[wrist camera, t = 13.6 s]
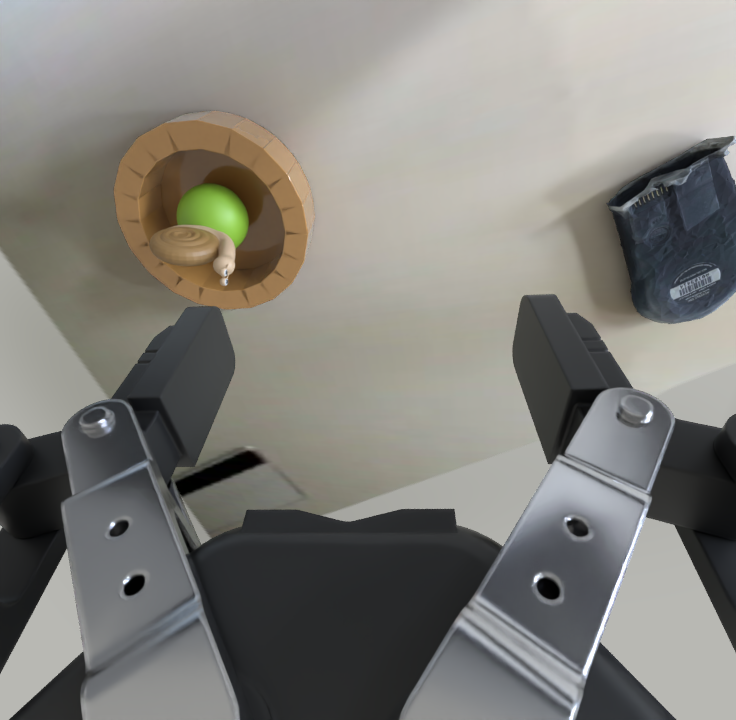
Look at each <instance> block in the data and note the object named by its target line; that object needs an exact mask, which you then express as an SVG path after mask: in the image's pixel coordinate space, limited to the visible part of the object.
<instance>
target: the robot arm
mask: <svg viewBox="0 0 736 720" xmlns="http://www.w3.org/2000/svg"><path fill="white" fill-rule="evenodd" d="M513 363H514V367H515V370H516V373H517V376H518V379H519V382H520V385H521V388H522V390H523V393H524V396H525V399H526V402H527V405H528V408H529V410H530V413H531V416H532V419H533V422H534V425H535V428H536V431H537V433H538V436H539V439H540V442H541V444H542V448H543V451H544V453H545V456H546V459H547V462H548V464H552V465H551V467H550V469H549V470H548V472H547V473H546V475H545V477H544V479H543V480H542V482H541V483H540V485H539V487H538V489H537V490H536V492H535V494H534V495H533V497H532V499H531V500H530V502H529V504H528V505H527V507H526V509H525V510H524V512H523V514H522V516H521V517H520V519H519V520H518V522H517V524H516V526H515V527H514V529H513V531H512V532H511V534H510V536H509V538H508V539H507V541H506V542H505V544H504V546H501V545H500V544H498V543H497V542H495V541H494V540H492V539H490V538H488V537H486V536H484V535H482V534H480V533H478V532H476V531H473V530H470V529H468V528H465V527H461V526H457V525H456V519H455V511H454V509H401V510H397V511H393V512H389V513H385V514H380V515H376V516H372V517H369V518H364V519H361V520H356V521H351V522H345V521H340V520H335V519H332V518H328V517H324V516H320V515H316V514H312V513H308V512H304V511H300V510H247V511H246V515H245V518H244V522H243V525H242V527H238V528H235V529H232V530H230V531H227V532H224V533H222V534H220V535H218V536H216V537H214V538H212V539H210V540H209V541H207V542H205V543H204V544H202V545H201V543H200V541H199V539H198V536H197V534H196V532H195V530H194V527H193V525H192V522H191V520H190V518H189V515H188V513H187V511H186V508H185V506H184V503H183V501H182V499H181V496H180V494H179V492H178V489H177V487H176V485H175V482H174V481H173V479H172V477H171V476H172V474H173V472H174V470H175V468H176V467H195V465H196V462H197V460H198V457H199V455H200V453H201V450H202V448H203V445H204V443H205V441H206V438H207V436H208V434H209V431H210V429H211V426H212V424H213V422H214V419H215V417H216V414H217V412H218V410H219V407H220V405H221V403H222V400H223V398H224V395H225V393H226V391H227V388H228V386H229V384H230V381H231V379H232V376H233V374H234V370H235V354H234V350H233V347H232V344H231V341H230V338H229V335H228V332H227V329H226V325H225V322H224V319H223V316H222V313H221V311H220V309H219V308H218V307H217V306H202V307H187V308H186V309H185V310H184V312H183V313H182V315H181V316H180V318H179V319H178V321H177V322H176V324H175V325H174V326H169V327H168V328H166V329H165V330H164V331H162V332H161V333H160V334H158V335H157V336H156V337H154V339H153V340H152V341H151V343H150V344H149V346H148V347H147V349H146V350H145V353H143V354H142V356H141V357H140V358H139V360H138V364H135V366H134V367H133V368H132V370H131V371H130V373H129V374H128V376H127V377H126V378H125V380H124V381H123V383H122V384H121V385H120V387H119V388H118V390H117V391H116V393H115V394H114V395H113V397H112V398H111V399H108V400H103V401H99V402H96V403H93V404H91V405H89V406H87V407H85V408H83V409H81V410H80V411H78V412H77V413H76V414H74V415H73V416H72V417H71V418H70V419H69V420H68V421H67V423H66V424H65V425H64V427H63V429H62V431H59V432H55V433H51V434H47V435H43V436H39V437H35V438H31V439H27V438H26V437H25V436H24V434H23V433H22V432H21V431H20V429H18V428H17V427H16V426H13V425H8V424H2V425H0V525H1V526H2V527H3V528H2V529H1V531H0V673H1V671H2V669H3V667H4V665H5V664H6V662H7V660H8V658H9V656H10V654H11V652H12V651H13V649H14V647H15V645H16V643H17V641H18V639H19V637H20V636H21V634H22V632H23V630H24V628H25V626H26V624H27V622H28V620H29V619H30V617H31V615H32V613H33V611H34V609H35V607H36V605H37V604H38V602H39V600H40V598H41V596H42V594H43V592H44V590H45V588H46V586H47V585H48V583H49V581H50V579H51V577H52V575H53V573H54V572H55V570H56V568H57V566H58V564H59V562H60V560H61V558H62V557H63V555H64V553H65V551H66V549H67V550H68V556H69V563H70V569H71V575H72V581H73V587H74V594H75V600H76V607H77V613H78V619H79V626H80V632H81V638H82V645H83V652H82V653H81V654H80V655H79V656H78V657H77V658H75V659H74V660H73V661H72V662H71V663H70V664H69V665H68V666H67V667H66V668H65V669H64V670H62V671H61V672H60V673H59V674H58V675H57V676H56V677H55V678H54V679H53V680H52V681H51V682H49V683H48V684H47V685H46V686H45V687H44V688H43V689H42V690H41V691H40V692H39V693H38V694H37V695H35V696H34V697H33V698H32V699H31V700H30V701H29V702H28V703H27V704H26V705H24V706H23V707H22V708H21V709H20V710H19V711H18V712H17V713H16V714H15V715H14V716H13V717H11V718H10V719H9V720H676V719H675V718H674V717H673V716H672V715H671V714H670V713H669V712H668V711H667V710H666V709H665V708H664V707H663V706H662V705H661V704H660V703H659V702H658V701H657V700H656V699H655V698H654V697H653V696H652V695H651V693H649V691H648V690H647V689H646V688H645V687H644V686H643V685H642V684H641V683H640V682H639V681H638V680H637V679H636V678H635V677H634V676H633V675H632V674H631V673H630V672H629V671H628V670H627V669H626V668H625V667H624V666H623V665H622V664H621V663H620V662H619V661H618V660H617V659H616V658H615V657H614V656H613V655H612V654H611V653H610V652H609V651H608V650H607V649H606V648H605V647H604V646H603V645H602V644H601V643H600V640H601V638H602V635H603V632H604V629H605V627H606V624H607V621H608V619H609V616H610V613H611V610H612V608H613V605H614V602H615V599H616V597H617V594H618V591H619V589H620V586H621V583H622V580H623V578H624V575H625V572H626V569H627V566H628V564H629V561H630V558H631V556H632V553H633V550H634V547H635V545H636V542H637V539H638V537H639V534H640V531H641V529H642V526H643V523H644V520H645V518H646V517H647V518H651V519H655V520H659V521H662V522H666V523H670V524H673V525H675V527H676V529H677V531H678V533H679V535H680V537H681V539H682V542H683V544H684V546H685V548H686V550H687V552H688V554H689V556H690V558H691V560H692V562H693V565H694V567H695V569H696V571H697V573H698V575H699V577H700V579H701V581H702V583H703V585H704V587H705V589H706V591H707V594H708V596H709V597H710V600H711V602H712V604H713V606H714V608H715V610H716V612H717V614H718V616H719V619H720V621H721V623H722V625H723V627H724V629H725V631H726V633H727V635H728V637H729V639H730V641H731V643H732V645H733V648H734V650H735V652H736V414H735V415H733V416H731V417H730V418H729V419H728V420H727V422H726V423H725V425H724V426H723V428H717V427H713V426H708V425H703V424H698V423H693V422H688V421H683V420H679V419H676V418H674V415H673V413H672V412H671V410H670V409H669V408H668V407H667V406H666V405H665V404H664V403H663V402H662V401H660V400H659V399H657V398H656V397H654V396H652V395H650V394H648V393H645V392H643V391H640V390H636V389H633V387H632V386H631V384H630V383H629V381H628V379H627V378H626V376H625V375H624V373H623V372H622V370H621V368H620V367H619V365H618V364H617V362H616V361H615V359H614V358H613V356H612V354H611V353H610V352H608V348H607V347H606V345H605V343H604V342H603V340H601V337H600V336H599V334H598V333H597V331H596V329H595V328H594V326H593V325H592V324H591V323H590V322H588V321H587V320H586V319H584V318H583V317H581V316H580V315H579V314H577V313H566V312H565V310H564V308H563V306H562V305H561V303H560V301H559V299H558V298H557V296H556V295H555V294H546V295H524V296H523V297H522V299H521V303H520V308H519V313H518V319H517V325H516V330H515V336H514V341H513Z"/></svg>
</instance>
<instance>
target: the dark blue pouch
mask: <svg viewBox="0 0 736 720" xmlns="http://www.w3.org/2000/svg"><path fill="white" fill-rule="evenodd" d="M735 137H736V136H730V137H721V138H713V139H706V140H704V141H703V142H701V143H699V144H697V145H696V146H694V147H692V148H691V149H689V150H687V151H686V152H684V153H683V154H681V155H679V156H678V157H676V158H674V159H672V160H670V161H668V162H666V163H665V164H663V165H661V166H659V167H658V168H656V169H654V170H652V171H650V172H648V173H646V174H644V175H642V176H641V177H639V178H637V179H635V180H633V181H632V182H630V183H629V184H627V185H626V186H624V187H623V188H622V189H621V190H619V192H618V193H617V194H616V195H615V196H614V197H613V198H612V199H611V200H610V202H609V203H606V204H607V205H608V207H609V209H610V211H612V212H613V217H614V220H615V223H616V227H617V231H618V233H619V237H620V242H621V244H620V245H621V247H622V249H623V253H624V257H625V260H626V264H627V268H628V271H629V275H630V279H631V282H632V283H631V296H632V301H633V304H634V306H635V308H636V309H637V312H638V313H640V315H641V316H643V317H645V318H647V319H650V320H652V321H655V322H659V323H668V324H675V323H681V322H686V321H691V320H695V319H700V318H703V317H705V316H707V315H708V314H710V313H712V312H714V311H715V310H717V309H718V308H719V307H720V306H721V305H722V304H724V303H725V302H726V301H727V300H729V298H730V297H731V296H732V295H733V294H734V293H735V292H736V185H735V180H733V179H732V177H731V174H730V171H729V169H728V166H727V163H726V162H725V160H724V158H723V157H724V156H726V155H728V154H729V151H728V150H727V148H728V147H729V146H731V145H733V144H735V143H736V139H735Z"/></svg>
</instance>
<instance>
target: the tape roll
mask: <svg viewBox="0 0 736 720" xmlns="http://www.w3.org/2000/svg"><path fill="white" fill-rule="evenodd" d="M205 183H213V184H219V185H222V186H224V187H226V188H228V189H230V190H231V191H233V192H234V193H235V194H236V195H237V196H238V197H239V198H240V199H241V201H242V202H243V204H244V205H245V208H246V210H247V213H248V218H249V227H248V232H247V235H246V237H245V239H244V241H243V242H242V243H241V244H240V245H239V246H238V247H237V248H236V249H235V261H234V262H235V269H234V271H233V272H232V274H230V275H229V276H228V278H227V276H225V277H222V276H221V275H220V274H218V273H217V272H216V271H215V270H214V268H213V262H214V260H213V261H212V262H209V263H207V264H204V265H199V266H179V265H173V264H169V263H166V262H164V261H162V260H160V259H158V258H157V257H156V256H155V255H154V254H153V253H152V252H151V250H150V245H149V243H150V239H151V237H152V236H153V235H154V234H155V233H157V232H158V231H161V230H163V229H166V228H169V227H173V226H177V225H178V223H177V208H178V204H179V202H180V200H181V198H182V196H183V195H184V194H185V193H186V192H187V191H188V190H189V189H191V188H192V187H194V186H197V185H200V184H205ZM114 198H115V206H116V214H117V219H118V220H117V221H118V223H119V225H120V228H121V230H122V232H123V234H124V237H125V239H126V241H127V244H128V246H129V248H130V249H131V251H132V252H133V253H134V254H135V256H136V257H137V258H138V259H139V261H140V262H141V263H142V265H143V266H144V267H145V268H146V270H147V271H148V272H149V273H150V274H151V275H153V276H154V277H155V278H156V279H158V280H159V281H160V282H161V283H163V284H164V285H165V286H166V287H168V288H169V289H170V290H171V291H173V292H174V293H177V294H179V295H181V296H183V297H185V298H187V299H189V300H191V301H193V302H195V303H198V304H202V305H206V306H217V307H218V308H221V309H240V308H252V307H254V306H257V305H260V304H262V303H265V302H267V301H270V300H273V299H274V298H276V297H277V296H278V295H279V294H280V293H281V292H283V291H284V290H285V289H286V288H287V287H288V286H290V285H291V284H292V283H293V281H294V279H295V277H296V276H297V274H298V272H299V270H300V268H301V266H302V265H303V263H304V260H305V258H306V255H307V252H308V249H309V246H310V243H311V239H312V233H313V227H314V220H315V214H314V203H313V198H312V194H311V189H310V186H309V184H308V181H307V178H306V176H305V174H304V172H303V170H302V168H301V166H300V165H299V163H298V162H297V160H296V159H295V157H294V156H293V155H292V153H291V152H290V151H289V150H288V149H287V147H286V146H285V145H284V144H283V143H282V142H281V141H280V140H279V139H278V138H276V137H275V136H274V135H273V134H271V133H270V132H269V131H267V130H266V129H265V128H263V127H261V126H260V125H258V124H256V123H254V122H253V121H250V120H248V119H246V118H243V117H241V116H238V115H234V114H230V113H226V112H219V111H202V112H196V113H187V114H184V115H181V116H179V117H177V118H175V119H172V120H170V121H168V122H165V123H163V124H161V125H159V126H158V127H156V128H154V129H152V130H150V131H148V132H147V133H145V134H143V135H141V136H139V137H138V138H137V139H136V140H135V141H134V143H133V144H132V146H131V147H130V148H129V150H128V151H127V152H126V154H125V155H124V156H123V158H122V159H121V161H120V163H119V168H118V172H117V176H116V181H115V185H114ZM221 278H227V279H228V284H227V285H226V286H222V285H221V284H220V279H221Z"/></svg>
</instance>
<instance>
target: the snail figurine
mask: <svg viewBox="0 0 736 720" xmlns="http://www.w3.org/2000/svg"><path fill="white" fill-rule="evenodd" d="M177 223H178V225H177V226H173V227H169V228H166V229H163V230H161V231H158V232H157V233H155V234H154V235H153V236H152V237H151V239H150V243H149V245H150V250H151V252H152V253H153V254H154V255H155V256H156V257H157V258H158V259H160V260H162V261H164V262H166V263H169V264H173V265H179V266H199V265H204V264H207V263H209V262H212V261H213V260H214V262H213V268H214V270H215V271H216V272H217V273H218V274H220V275H221V276H222V277H225V276H227V278H228V276H229V275H230V274H232V272H233V271H234V269H235V262H234V261H235V249H236V248H237V247H238V246H239V245H240V244H241V243H242V242H243V241H244V239H245V237H246V235H247V232H248V227H249V218H248V213H247V210H246V208H245V205H244V204H243V202H242V201H241V199H240V198H239V197H238V196H237V195H236V194H235V193H234V192H233V191H231V190H230V189H228V188H226V187H224V186H222V185H219V184H213V183H205V184H200V185H197V186H194V187H192V188H191V189H189V190H188V191H187V192H186V193H185V194H184V195H183V196H182V198H181V200H180V202H179V204H178V208H177ZM227 278H221V279H220V284H221V285H222V286H226V285H227V284H228V279H227Z"/></svg>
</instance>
